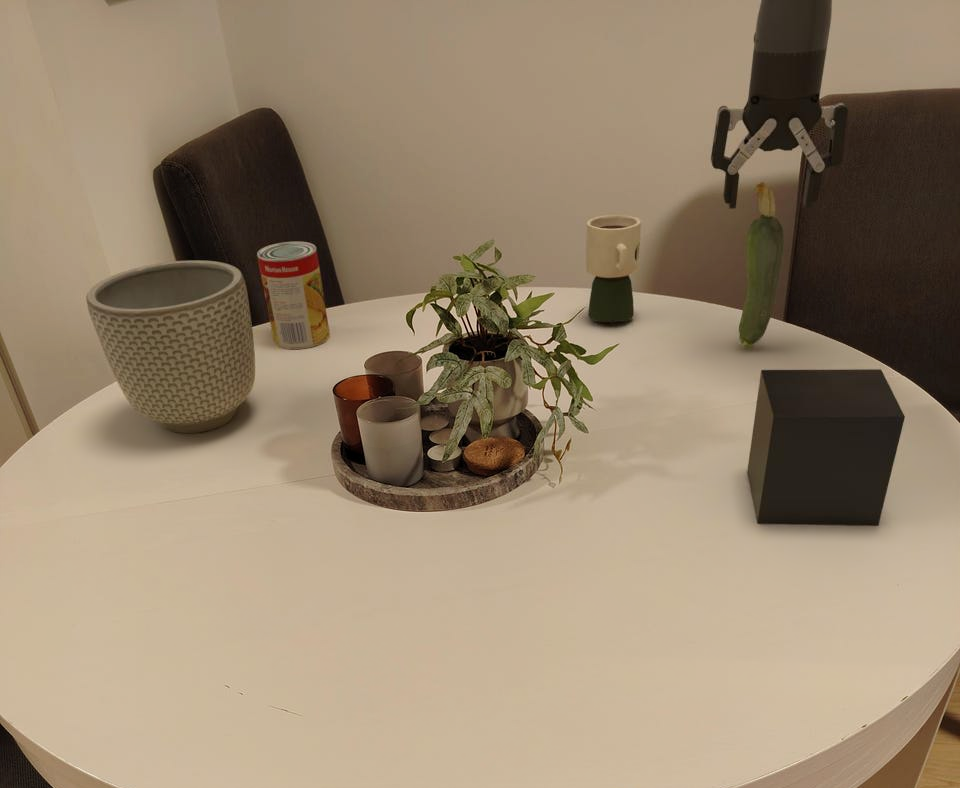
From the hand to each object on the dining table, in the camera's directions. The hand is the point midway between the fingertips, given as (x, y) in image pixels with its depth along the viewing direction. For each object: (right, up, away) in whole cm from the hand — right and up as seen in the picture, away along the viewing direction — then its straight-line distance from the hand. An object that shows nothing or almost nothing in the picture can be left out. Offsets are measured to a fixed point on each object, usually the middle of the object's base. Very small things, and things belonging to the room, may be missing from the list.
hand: (769, 206), depth 111 cm
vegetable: (+1, -14, +11) cm, 18 cm away
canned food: (-59, -8, +23) cm, 64 cm away
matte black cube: (-1, -37, -18) cm, 41 cm away
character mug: (-16, -6, +22) cm, 27 cm away
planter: (-68, -24, +4) cm, 72 cm away
